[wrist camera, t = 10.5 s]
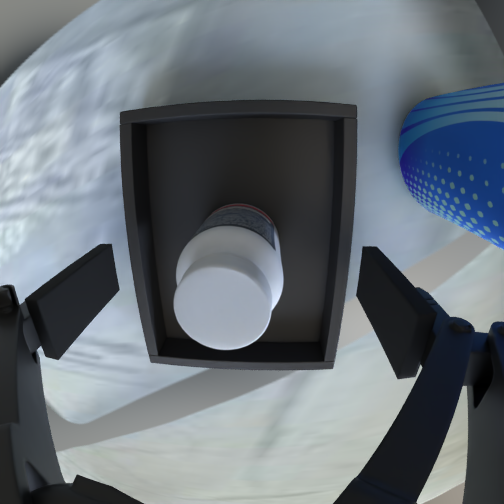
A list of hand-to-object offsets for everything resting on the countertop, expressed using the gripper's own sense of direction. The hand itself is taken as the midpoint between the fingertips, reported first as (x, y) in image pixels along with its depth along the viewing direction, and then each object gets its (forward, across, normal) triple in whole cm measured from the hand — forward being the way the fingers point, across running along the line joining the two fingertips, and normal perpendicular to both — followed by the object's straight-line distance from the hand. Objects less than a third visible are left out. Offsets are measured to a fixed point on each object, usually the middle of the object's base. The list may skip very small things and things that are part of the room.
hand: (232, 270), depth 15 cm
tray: (+6, 0, 0) cm, 6 cm away
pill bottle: (+5, 0, 0) cm, 6 cm away
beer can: (+6, +14, +6) cm, 17 cm away
